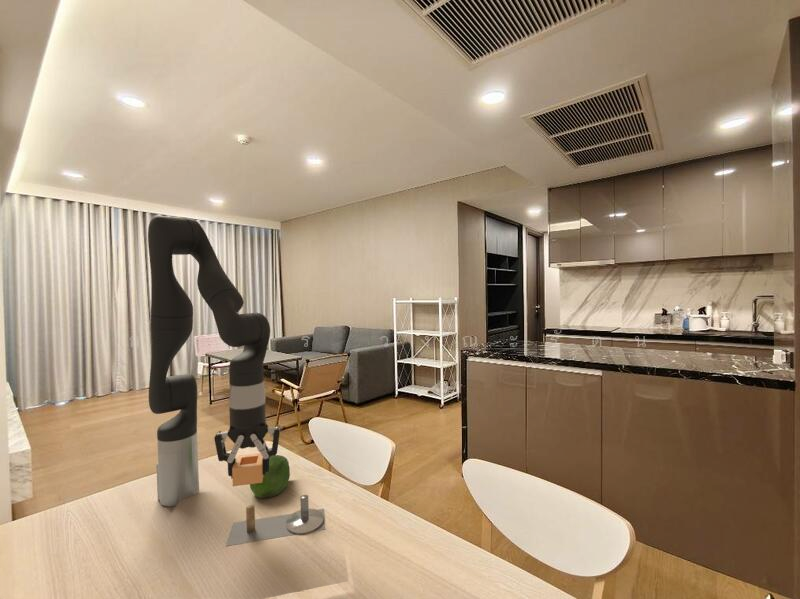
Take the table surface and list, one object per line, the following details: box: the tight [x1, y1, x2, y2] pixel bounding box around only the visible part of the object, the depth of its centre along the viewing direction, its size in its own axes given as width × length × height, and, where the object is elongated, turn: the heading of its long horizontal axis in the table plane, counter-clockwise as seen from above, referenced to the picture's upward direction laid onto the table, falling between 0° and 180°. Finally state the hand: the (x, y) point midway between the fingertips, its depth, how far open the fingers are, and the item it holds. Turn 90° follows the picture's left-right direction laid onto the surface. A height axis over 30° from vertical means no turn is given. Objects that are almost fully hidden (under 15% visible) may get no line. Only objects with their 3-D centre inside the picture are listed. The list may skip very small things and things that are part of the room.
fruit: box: [249, 454, 291, 499], centre depth 103 cm, size 15×10×10 cm, turn 175°
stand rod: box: [245, 504, 256, 533], centre depth 84 cm, size 2×2×6 cm
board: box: [225, 508, 326, 547], centre depth 86 cm, size 21×8×2 cm, turn 104°
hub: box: [286, 494, 325, 535], centre depth 87 cm, size 9×9×6 cm
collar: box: [231, 452, 264, 487], centre depth 84 cm, size 6×6×4 cm
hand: (249, 474), depth 84 cm, fingers closed on collar, 6 cm apart
